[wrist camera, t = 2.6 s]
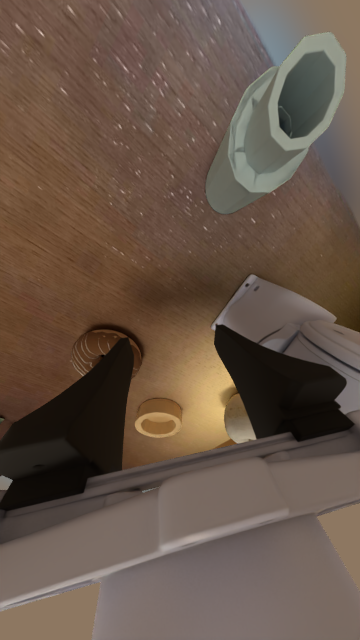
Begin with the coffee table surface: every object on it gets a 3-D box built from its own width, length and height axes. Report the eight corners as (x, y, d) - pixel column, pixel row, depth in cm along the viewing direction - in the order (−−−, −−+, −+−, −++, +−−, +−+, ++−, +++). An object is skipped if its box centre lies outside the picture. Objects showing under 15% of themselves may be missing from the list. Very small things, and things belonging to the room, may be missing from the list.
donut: (150, 334, 23) (145, 350, 20) (138, 377, 28) (132, 396, 24) (80, 316, 21) (61, 330, 18) (80, 365, 26) (64, 384, 22)
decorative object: (266, 390, 31) (303, 449, 22) (241, 412, 34) (263, 470, 25) (233, 378, 29) (259, 438, 20) (210, 402, 32) (223, 462, 23)
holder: (148, 393, 30) (145, 407, 27) (188, 405, 33) (190, 420, 30) (132, 416, 34) (128, 431, 31) (169, 426, 37) (168, 440, 34)
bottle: (224, 139, 13) (320, -74, 4) (261, 173, 14) (397, 61, 6) (196, 197, 15) (225, 130, 6) (231, 223, 16) (297, 198, 7)
